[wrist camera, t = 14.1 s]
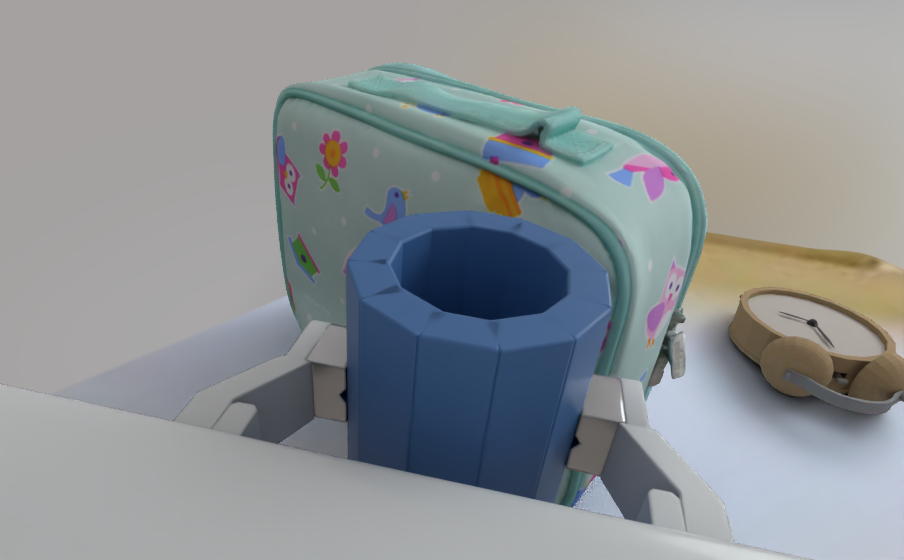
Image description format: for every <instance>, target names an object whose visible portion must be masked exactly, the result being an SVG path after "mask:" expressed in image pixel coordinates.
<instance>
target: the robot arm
mask: <svg viewBox="0 0 904 560" xmlns="http://www.w3.org/2000/svg"><path fill="white" fill-rule="evenodd" d="M314 417H318V418H324V419H329V420H335V421H341V422H346V423H347V420H348V416H347V331H346V326H343V325H338V324H333V323H332V324H331V323H327V322H323V321H318V320H312V321H310V322H309V323H308V325H307V326H306V328H305V329H304V330H303V332H302V333H301V335H300V336H299V337H298V339H297V340H296V342H295V343H294V344H293V346H292V347H291V349H290V350H289V351H288V353H287V354H286V356H277V357H275V358H273V359H271V360H268V361H266V362H264V363H262V364H259V365H257V366H255V367H253V368H250V369H248V370H246V371H244V372H241V373H239V374H237V375H235V376H232V377H230V378H228V379H226V380H223V381H221V382H219V383H217V384H214V385H212V386H210V387H208V388H205V389H203V390H201V391H199V392H197V393H196V395H195V396H194V397H193V398H192V399H191V400H190V402H189V403H188V404H187V405H186V406H185V407H184V409H183V410H182V411H181V412H180V413H179V414H178V416H177V417H176V418H175V419H174V420H173V421H170V420H166V419H161V418H156V417H152V416H147V415H142V414H138V413H133V412H129V411H124V410H119V409H115V408H110V407H106V406H101V405H96V404H92V403H87V402H83V401H78V400H73V399H69V398H64V397H60V396H55V395H50V394H46V393H41V392H36V391H32V390H27V389H23V388H18V387H13V386H9V385H4V384H0V560H813V559H808V558H803V557H799V556H794V555H790V554H785V553H780V552H776V551H771V550H766V549H762V548H757V547H753V546H748V545H743V544H739V543H734V539H733V535H732V532H731V528H730V524H729V521H728V517H727V513H726V510H725V506H724V502H723V501H722V500H721V499H720V498H719V497H718V496H717V495H716V494H715V493H714V491H713V490H712V489H711V488H710V487H709V486H708V485H707V484H706V483H705V482H704V481H703V480H702V479H701V478H700V477H699V475H698V474H697V473H696V472H695V471H694V470H693V469H692V468H691V467H690V466H689V465H688V464H687V463H686V462H685V461H684V459H683V458H682V457H681V456H680V455H679V454H678V453H677V452H676V451H675V450H674V449H673V448H672V447H671V446H670V444H669V443H668V442H667V441H666V440H665V439H664V438H663V437H662V436H661V435H660V434H659V433H658V432H657V431H656V430H655V429H650V428H649V422H648V416H647V410H646V404H645V398H644V392H643V386H642V383H641V382H640V381H637V380H631V379H625V378H616V377H610V376H605V375H599V374H594V373H593V376H592V379H591V383H590V386H589V389H588V393H587V396H586V399H585V403H584V406H583V408H582V411H581V415H580V418H579V421H578V425H577V428H576V431H575V436H574V439H573V442H572V445H571V448H570V452H569V455H568V458H567V462H566V469H571V470H575V471H579V472H583V473H587V474H592V475H596V476H600V477H601V480H602V482H603V483H604V485H605V487H606V488H607V490H608V491H609V493H610V495H611V496H612V498H613V500H614V501H615V503H616V505H617V506H618V508H619V509H620V511H621V513H622V514H623V516H624V518H625V519H623V518H618V517H613V516H609V515H604V514H599V513H595V512H590V511H586V510H581V509H576V508H572V507H567V506H563V505H558V504H553V503H549V502H544V501H540V500H535V499H530V498H526V497H521V496H517V495H512V494H508V493H503V492H498V491H494V490H489V489H485V488H480V487H475V486H471V485H466V484H461V483H457V482H452V481H447V480H443V479H438V478H433V477H429V476H424V475H419V474H415V473H410V472H405V471H401V470H396V469H392V468H387V467H382V466H378V465H373V464H368V463H364V462H359V461H355V460H350V459H345V458H341V457H336V456H332V455H327V454H322V453H318V452H313V451H308V450H304V449H299V448H295V447H290V446H285V445H281V444H279V443H280V442H281V441H283V440H284V439H286V438H287V437H289V436H290V435H291V434H293V433H294V432H296V431H297V430H299V429H300V428H301V427H303V426H304V425H306V424H307V423H309V422H310V421H311V420H313V419H314Z"/></svg>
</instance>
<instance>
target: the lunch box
mask: <svg viewBox="0 0 904 560" xmlns="http://www.w3.org/2000/svg"><path fill="white" fill-rule="evenodd" d="M273 157H274V180H275V197H276V210H277V222H278V232H279V242H280V250H281V257H282V265H283V272H284V278H285V284H286V290H287V294H288V298H289V301H290V305H291V308H292V311H293V313H294V315H295V318H296V319H297V322H298V324H299V326H300V328H301V330H302V332H303V330H304V329H305V328H306V326H307V325H308V323H309V322H310V321H312V320H318V321H323V322H327V323H331V324H332V323H333V324H338V325H343V326H346V264H347V260H348V258H349V257H350V256H351V254H352V253H353V252H354V250H355V249H356V247H357V246H358V245H359V243H360V242H361V241H362V239H363V238H364V236H365V235H366V234H367V233H368V232H370V230H372V229H375V228H377V227H380V226H383V225H385V224H388V223H390V222H393V221H396V220H398V219H401V218H403V217H406V216H408V215H414V214H418V213H434V212H449V211H464V210H465V211H468V210H472V211H478V212H484V213H490V214H496V215H502V216H508V217H514V218H521V219H524V220H527V221H530V222H532V223H534V224H537V225H539V226H541V227H544V228H546V229H549V230H551V231H553V232H556V233H558V234H560V235H563V236H565V237H568V238H570V239H572V240H573V241H575V242H577V243H578V244H579V245H580V246H581V247H582V248H583V249H584V250H585V251H586V252H587V253H588V254H590V255H591V256H592V257H593V258H594V259H595V260H596V261H597V262H598V263H599V264H600V265H601V266H602V267H604V268H605V269H606V270H607V273H608V275H609V283H610V292H611V301H612V312H611V316H610V319H609V322H608V326H607V329H606V332H605V336H604V339H603V342H602V346H601V349H600V353H599V356H598V359H597V363H596V366H595V369H594V374H599V375H605V376H610V377H616V378H625V379H631V380H637V381H640V382H641V383H642V386H643V392H644V398H645V402H646V400H647V398H648V395H649V393H650V390H651V388H652V386H655V385H657V384H659V383H660V381H661V379H662V376H663V373H664V371H663V370H664V368H665V366H666V364H667V363H668V362H667V361H669V363H670V365H671V376H672V379H675V378H679V377H682V376H683V375H684V373H685V335H684V332H680V333H678V334H676V333H675V329H676V326H677V325H678V324H679V323H684V321H685V319H686V318H685V316H684V315H683V314H682V313H683V308H681V305H682V303H683V300H684V297H685V294H686V291H687V289H688V287H689V284H690V281H691V279H692V276H693V273H694V271H695V268H696V266H697V263H698V260H699V257H700V255H701V251H702V248H703V244H704V240H705V235H706V230H707V212H706V206H705V200H704V197H703V193H702V189H701V187H700V184H699V182H698V180H697V178H696V177H695V175H694V173H693V172H692V171H691V169H690V168H689V167H688V165H687V164H686V163H685V162H684V161H683V160H682V159H681V158H680V157H679V156H678V155H677V154H676V153H674V152H673V151H672V150H671V149H669V148H668V147H667V146H665V145H664V144H662V143H660V142H659V141H657V140H655V139H654V138H652V137H650V136H647V135H645V134H643V133H641V132H638V131H636V130H634V129H631V128H628V127H625V126H622V125H619V124H616V123H613V122H609V121H605V120H602V119H598V118H594V117H590V116H586V115H582V111H581V110H580V109H579V108H577V107H574V106H571V107H567V108H564V109H557V108H553V107H549V106H544V105H540V104H536V103H532V102H529V101H526V100H522V99H519V98H515V97H512V96H508V95H505V94H501V93H498V92H495V91H491V90H488V89H485V88H482V87H479V86H475V85H472V84H469V83H465V82H462V81H459V80H457V79H454V78H451V77H449V76H447V75H444V74H442V73H440V72H437V71H435V70H432V69H429V68H426V67H422V66H418V65H413V64H407V63H389V64H384V65H381V66H377V67H374V68H371V69H369V70H367V71H363V72H360V73H356V74H351V75H346V76H343V77H338V78H333V79H327V80H321V81H317V82H303V83H297V84H293V85H289V86H288V87H286V88H285V89H284V90H282V92H281V93H280V95H279V97H278V99H277V103H276V108H275V112H274V120H273ZM666 359H667V360H666ZM595 477H596V475H592V474H587V473H583V472H579V471H575V470H571V469H566V466H565V470H564V473H563V476H562V480H561V483H560V486H559V490H558V493H557V496H556V500H555V503H554V504H558V505H563V506H567V507H573V506H574V505H575V504H576V502H577V501H578V500H579V499H580V497H581V496H582V494H583V493H584V491H585V490H586V488H587V486H588V485H589V483H590V482H591V481H592V480H593V479H594V478H595Z"/></svg>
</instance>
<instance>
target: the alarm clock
mask: <svg viewBox="0 0 904 560" xmlns="http://www.w3.org/2000/svg"><path fill="white" fill-rule="evenodd" d="M729 332H730V336H731V339H732V340H733V342H734V343H735V344H736V345H737V347H738V348H739V349H740V350H741V351H742V352H743V353H744V354H746V355H747V356H748V357H749V358H751V359H752V360H753V361H755V362H756V363H757V364H759V365H760V366H761V371H762V374H763V376H764V377H765V379H766V381H767V382H768V383H769V384H770V385H771V386H772V387H773V388H775V389H776V390H778V391H780V392H782V393H784V394H787V395H791V396H801V397H804V396H809V395H813V396H815V397H817V398H819V399H821V400H823V401H825V402H827V403H829V404H831V405H834V406H836V407H840V408H843V409H846V410H849V411H854V412H858V413H865V414H882V413H885V412H887V411H888V410H890V408H891V406H892V405H894V404H896V403H897V402H898V401H903V402H904V359H903V358H902V357H901V356H899V355H898V354H896V349H895V342H894V341H893V339H892V338H891V337H890V335H889V334H888V333H887V332H886V331H885V330H884V329H882V328H881V327H880V326H879V325H877V324H876V323H875V322H874V321H872V320H870V319H869V318H867V317H865V316H863V315H862V314H860V313H858V312H856V311H855V310H853V309H850V308H848V307H846V306H843V305H841V304H839V303H836V302H834V301H832V300H829V299H825V298H822V297H819V296H816V295H813V294H810V293H806V292H801V291H796V290H792V289H786V288H776V287H762V288H753V289H751V290H749V291H746V292H744V294H743V295H740V304H739V306H738V309H737V311H736V314H735V316H734V319H733V321H732V323H731V325H730V327H729ZM840 393H846V394H848V396H846V395H843V394H840Z"/></svg>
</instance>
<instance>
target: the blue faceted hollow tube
mask: <svg viewBox="0 0 904 560" xmlns="http://www.w3.org/2000/svg"><path fill="white" fill-rule="evenodd" d="M611 312H612V301H611V292H610V283H609V275H608V273H607V270H606V269H605V268H604V267H602V266H601V265H600V264H599V263H598V262H597V261H596V260H595V259H594V258H593V257H592V256H591V255H590V254H588V253H587V252H586V251H585V250H584V249H583V248H582V247H581V246H580V245H579V244H578V243H577V242H575V241H573V240H572V239H570V238H568V237H565V236H563V235H560V234H558V233H556V232H553V231H551V230H549V229H546V228H544V227H541V226H539V225H537V224H534V223H532V222H530V221H527V220H524V219H521V218H514V217H508V216H502V215H496V214H490V213H484V212H478V211H472V210H468V211H465V210H464V211H449V212H434V213H418V214H414V215H408V216H406V217H403V218H401V219H398V220H396V221H393V222H390V223H388V224H385V225H383V226H380V227H377V228H375V229H372V230H370V232H368V233H367V234H366V235H365V236H364V238H363V239H362V241H361V242H360V243H359V245H358V246H357V247H356V249H355V250H354V252H353V253H352V254H351V256H350V257H349V258H348V260H347V264H346V331H347V416H348V459H350V460H355V461H359V462H364V463H368V464H373V465H378V466H382V467H387V468H392V469H396V470H401V471H405V472H410V473H415V474H419V475H424V476H429V477H433V478H438V479H443V480H447V481H452V482H457V483H461V484H466V485H471V486H475V487H480V488H485V489H489V490H494V491H498V492H503V493H508V494H512V495H517V496H521V497H526V498H530V499H535V500H540V501H544V502H549V503H553V504H554V503H555V500H556V496H557V493H558V490H559V486H560V483H561V480H562V476H563V473H564V470H565V466H566V462H567V458H568V455H569V452H570V448H571V445H572V442H573V439H574V436H575V431H576V428H577V425H578V421H579V418H580V415H581V411H582V408H583V406H584V403H585V399H586V396H587V393H588V389H589V386H590V383H591V379H592V376H593V373H594V369H595V366H596V363H597V359H598V356H599V353H600V349H601V346H602V342H603V339H604V336H605V332H606V329H607V326H608V322H609V319H610V316H611Z"/></svg>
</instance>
